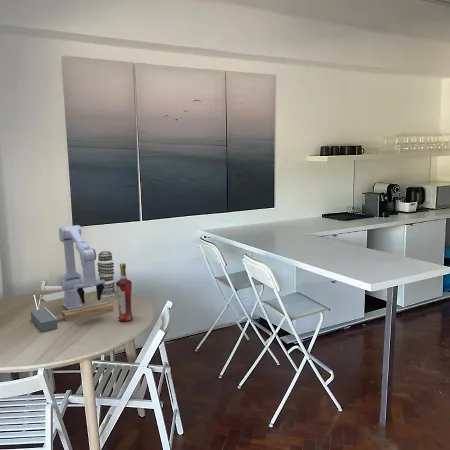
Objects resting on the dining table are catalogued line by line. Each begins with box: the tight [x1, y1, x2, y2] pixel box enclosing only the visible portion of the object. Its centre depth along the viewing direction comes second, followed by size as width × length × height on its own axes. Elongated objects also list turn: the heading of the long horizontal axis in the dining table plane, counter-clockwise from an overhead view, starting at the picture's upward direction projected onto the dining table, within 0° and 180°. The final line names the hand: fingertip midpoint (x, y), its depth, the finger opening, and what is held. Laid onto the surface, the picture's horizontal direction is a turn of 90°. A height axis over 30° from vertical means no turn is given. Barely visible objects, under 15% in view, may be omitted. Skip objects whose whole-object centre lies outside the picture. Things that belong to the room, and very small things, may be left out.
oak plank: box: [55, 301, 114, 324], centre depth 236 cm, size 6×28×4 cm, turn 125°
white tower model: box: [97, 250, 116, 298], centre depth 267 cm, size 9×9×25 cm
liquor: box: [115, 263, 134, 323], centre depth 227 cm, size 7×7×28 cm
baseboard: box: [38, 286, 97, 303], centre depth 270 cm, size 31×3×12 cm
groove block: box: [30, 306, 58, 333], centre depth 225 cm, size 20×7×5 cm, turn 35°
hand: (91, 301), depth 226 cm, fingers open, 7 cm apart
